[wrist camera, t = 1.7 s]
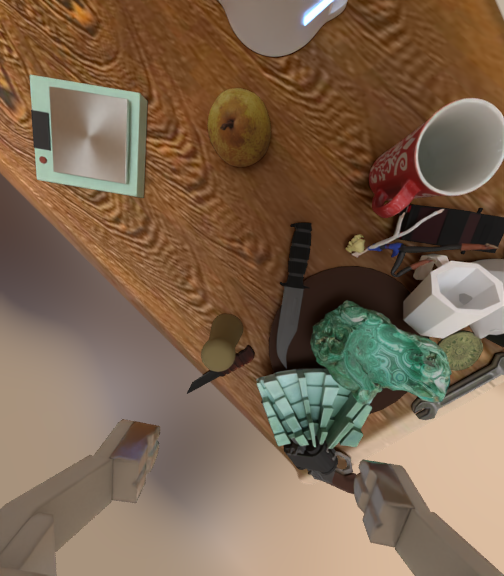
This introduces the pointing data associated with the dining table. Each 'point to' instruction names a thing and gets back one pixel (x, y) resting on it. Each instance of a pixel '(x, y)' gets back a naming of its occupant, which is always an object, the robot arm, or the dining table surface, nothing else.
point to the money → (311, 408)
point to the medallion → (461, 349)
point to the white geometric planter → (450, 296)
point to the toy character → (497, 320)
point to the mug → (440, 156)
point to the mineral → (378, 355)
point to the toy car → (451, 227)
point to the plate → (329, 296)
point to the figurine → (401, 248)
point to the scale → (44, 137)
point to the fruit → (239, 127)
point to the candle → (496, 339)
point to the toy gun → (321, 463)
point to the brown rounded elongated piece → (222, 342)
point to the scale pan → (89, 134)
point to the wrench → (461, 388)
